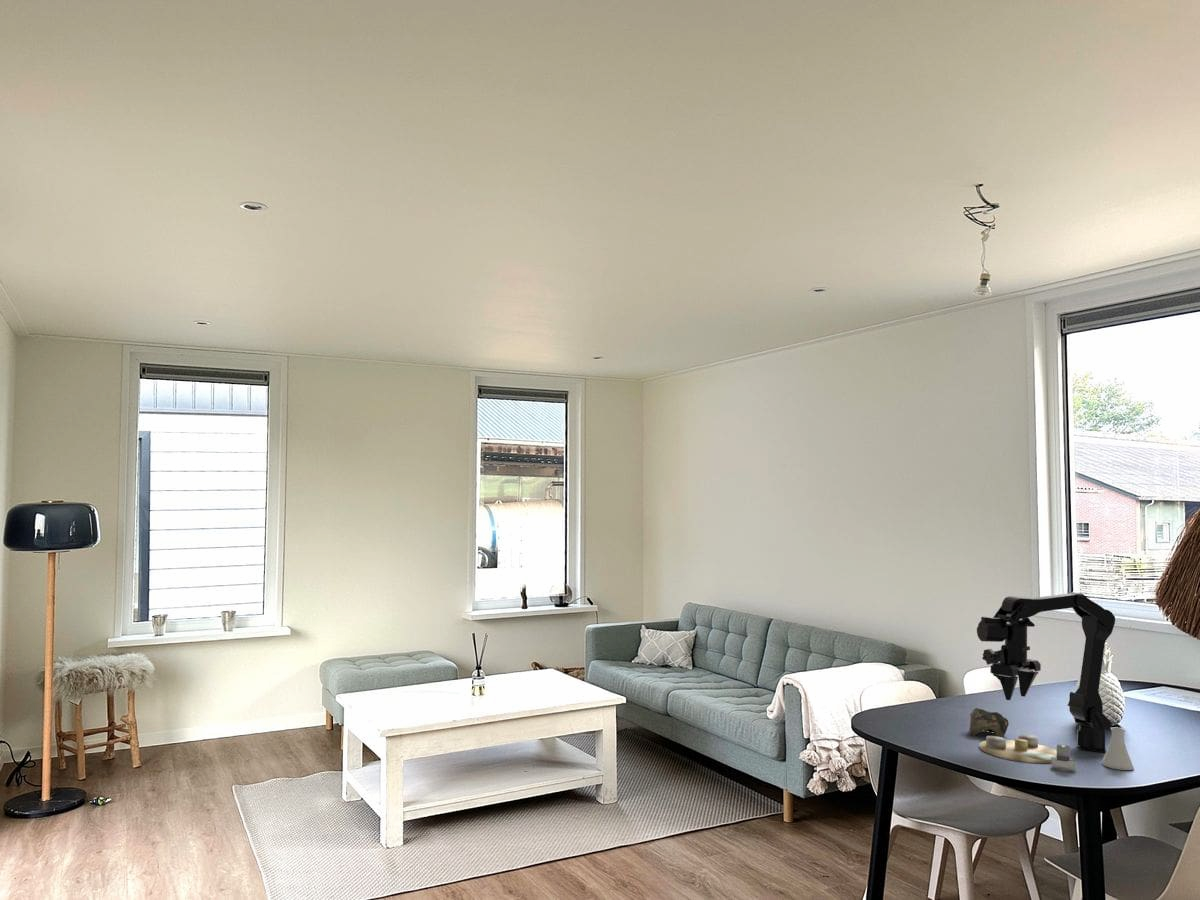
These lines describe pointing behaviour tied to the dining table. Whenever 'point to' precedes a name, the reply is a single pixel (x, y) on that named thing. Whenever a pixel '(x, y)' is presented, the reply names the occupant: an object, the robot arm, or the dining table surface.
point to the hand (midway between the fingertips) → (1015, 698)
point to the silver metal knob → (1063, 759)
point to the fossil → (988, 722)
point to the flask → (1117, 752)
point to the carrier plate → (1017, 753)
